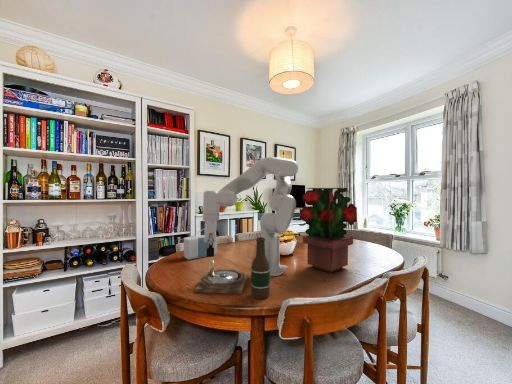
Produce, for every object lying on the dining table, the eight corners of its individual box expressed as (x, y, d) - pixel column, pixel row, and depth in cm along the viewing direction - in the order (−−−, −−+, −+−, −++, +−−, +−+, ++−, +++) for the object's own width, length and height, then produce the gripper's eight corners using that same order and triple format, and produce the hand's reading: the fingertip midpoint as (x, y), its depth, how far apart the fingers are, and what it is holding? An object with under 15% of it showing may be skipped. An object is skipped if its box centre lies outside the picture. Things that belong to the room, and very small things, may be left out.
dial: (239, 275, 120) (239, 257, 120) (235, 286, 106) (235, 266, 106) (211, 274, 121) (212, 256, 120) (204, 285, 107) (204, 265, 106)
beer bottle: (269, 291, 105) (269, 236, 105) (270, 299, 97) (270, 239, 97) (251, 291, 105) (251, 236, 104) (251, 299, 97) (251, 240, 97)
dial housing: (246, 276, 122) (246, 268, 122) (241, 293, 103) (241, 284, 102) (207, 275, 124) (207, 267, 124) (195, 292, 104) (195, 283, 104)
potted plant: (333, 278, 121) (334, 187, 120) (299, 266, 138) (299, 187, 137) (356, 268, 135) (356, 188, 134) (322, 259, 152) (323, 188, 152)
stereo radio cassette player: (187, 261, 149) (187, 228, 148) (182, 258, 155) (182, 226, 155) (217, 255, 162) (217, 225, 162) (211, 252, 168) (211, 223, 168)
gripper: (203, 215, 121) (202, 249, 121) (202, 219, 104) (201, 259, 104) (218, 215, 122) (217, 249, 122) (220, 219, 105) (219, 258, 105)
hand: (210, 253), depth 113 cm, fingers open, 9 cm apart
